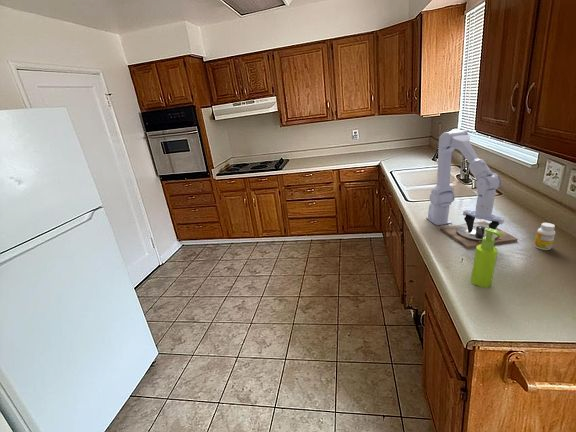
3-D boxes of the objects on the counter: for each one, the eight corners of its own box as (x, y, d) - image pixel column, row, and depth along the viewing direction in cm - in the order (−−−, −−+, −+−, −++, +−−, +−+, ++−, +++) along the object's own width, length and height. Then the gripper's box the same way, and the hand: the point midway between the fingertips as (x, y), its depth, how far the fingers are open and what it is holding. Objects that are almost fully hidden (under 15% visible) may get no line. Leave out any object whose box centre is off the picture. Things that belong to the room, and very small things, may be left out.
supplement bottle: (534, 242, 123) (539, 220, 119) (551, 245, 119) (557, 223, 116) (533, 248, 119) (538, 226, 115) (551, 251, 116) (557, 228, 112)
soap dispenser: (486, 290, 98) (496, 236, 91) (467, 280, 104) (475, 228, 97) (498, 285, 100) (509, 231, 93) (478, 275, 106) (487, 224, 99)
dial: (454, 223, 142) (456, 213, 140) (494, 226, 136) (496, 215, 134) (457, 238, 128) (459, 227, 126) (502, 242, 122) (504, 230, 120)
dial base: (440, 229, 140) (440, 226, 140) (484, 223, 142) (484, 220, 142) (467, 248, 123) (467, 245, 122) (517, 241, 125) (517, 238, 124)
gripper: (461, 203, 124) (457, 232, 129) (501, 211, 113) (495, 243, 118) (469, 198, 128) (465, 227, 133) (508, 206, 117) (502, 237, 122)
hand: (479, 234), depth 126 cm, fingers open, 7 cm apart
